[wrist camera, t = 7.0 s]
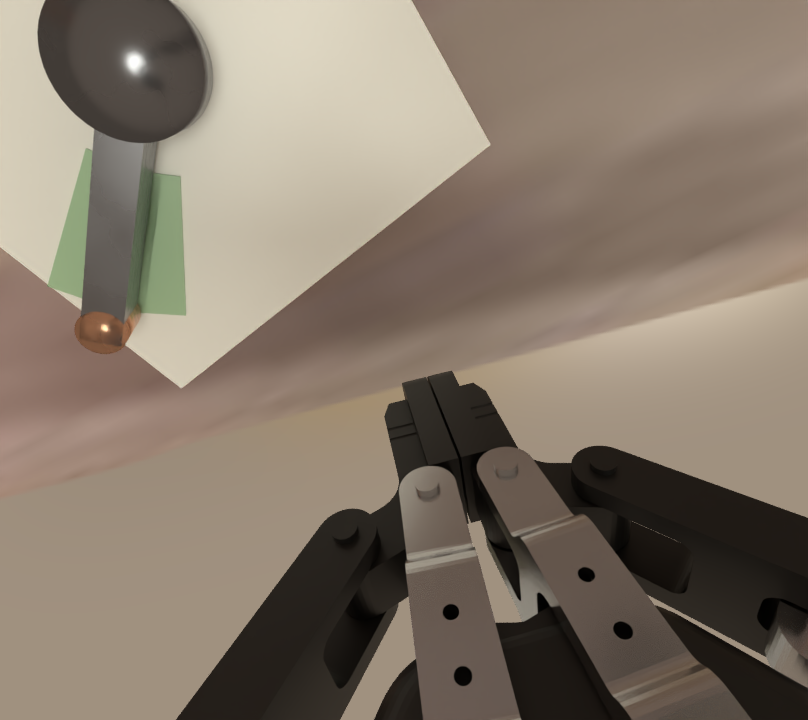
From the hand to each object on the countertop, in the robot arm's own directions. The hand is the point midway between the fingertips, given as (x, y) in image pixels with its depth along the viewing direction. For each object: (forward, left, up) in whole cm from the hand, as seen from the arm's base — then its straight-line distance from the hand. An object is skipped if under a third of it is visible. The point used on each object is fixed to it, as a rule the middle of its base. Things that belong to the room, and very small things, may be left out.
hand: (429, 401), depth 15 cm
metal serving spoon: (+6, -9, -12) cm, 16 cm away
